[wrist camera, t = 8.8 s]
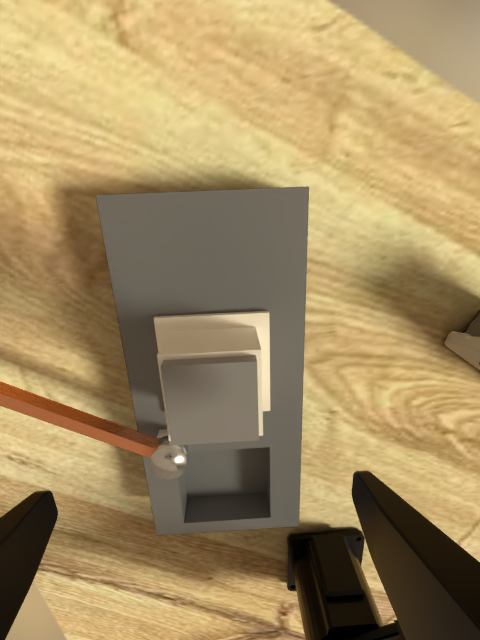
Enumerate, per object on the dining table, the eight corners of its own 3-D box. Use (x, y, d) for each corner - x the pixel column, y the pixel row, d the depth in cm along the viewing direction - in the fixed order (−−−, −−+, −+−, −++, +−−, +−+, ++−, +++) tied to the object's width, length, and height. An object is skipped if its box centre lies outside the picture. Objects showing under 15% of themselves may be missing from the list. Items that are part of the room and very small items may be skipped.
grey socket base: (290, 489, 24) (301, 536, 20) (165, 497, 23) (154, 547, 20) (295, 192, 17) (313, 184, 13) (118, 200, 17) (88, 193, 13)
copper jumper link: (194, 442, 17) (191, 457, 16) (180, 467, 18) (177, 483, 17) (-181, 303, 14) (-218, 310, 13) (-184, 338, 14) (-220, 348, 13)
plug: (265, 388, 19) (280, 456, 14) (174, 393, 19) (152, 464, 14) (263, 301, 18) (280, 337, 12) (163, 306, 17) (132, 345, 12)
